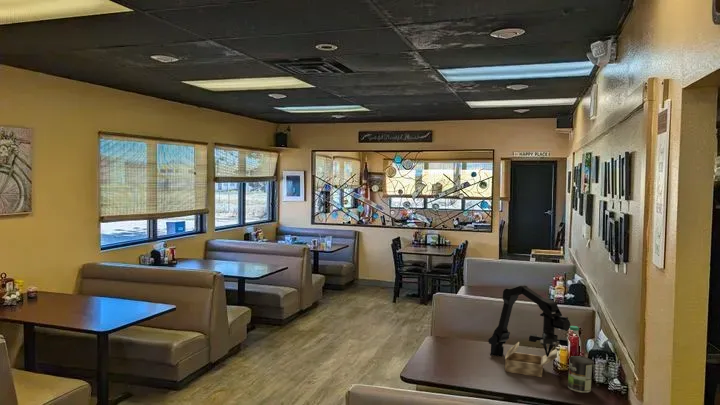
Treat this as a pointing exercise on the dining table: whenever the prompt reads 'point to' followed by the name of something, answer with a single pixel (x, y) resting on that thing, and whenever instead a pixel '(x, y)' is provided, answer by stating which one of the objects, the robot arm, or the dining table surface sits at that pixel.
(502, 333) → the robot arm
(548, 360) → the flap
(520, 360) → the carton
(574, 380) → the coffee can
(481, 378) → the dining table surface
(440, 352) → the dining table surface
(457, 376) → the dining table surface
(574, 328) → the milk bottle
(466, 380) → the dining table surface
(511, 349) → the flap
